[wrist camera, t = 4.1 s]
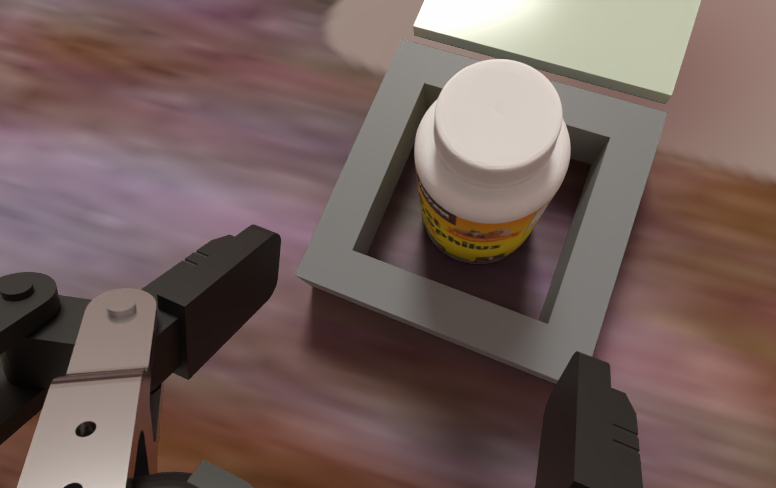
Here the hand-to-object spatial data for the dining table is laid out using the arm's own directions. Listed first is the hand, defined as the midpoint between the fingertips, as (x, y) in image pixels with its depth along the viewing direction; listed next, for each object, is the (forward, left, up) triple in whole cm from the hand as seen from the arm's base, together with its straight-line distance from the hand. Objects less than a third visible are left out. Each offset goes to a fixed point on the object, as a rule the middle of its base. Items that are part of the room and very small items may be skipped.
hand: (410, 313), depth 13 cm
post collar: (0, +7, -11) cm, 13 cm away
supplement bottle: (0, +7, -12) cm, 14 cm away
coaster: (0, +23, -11) cm, 26 cm away
